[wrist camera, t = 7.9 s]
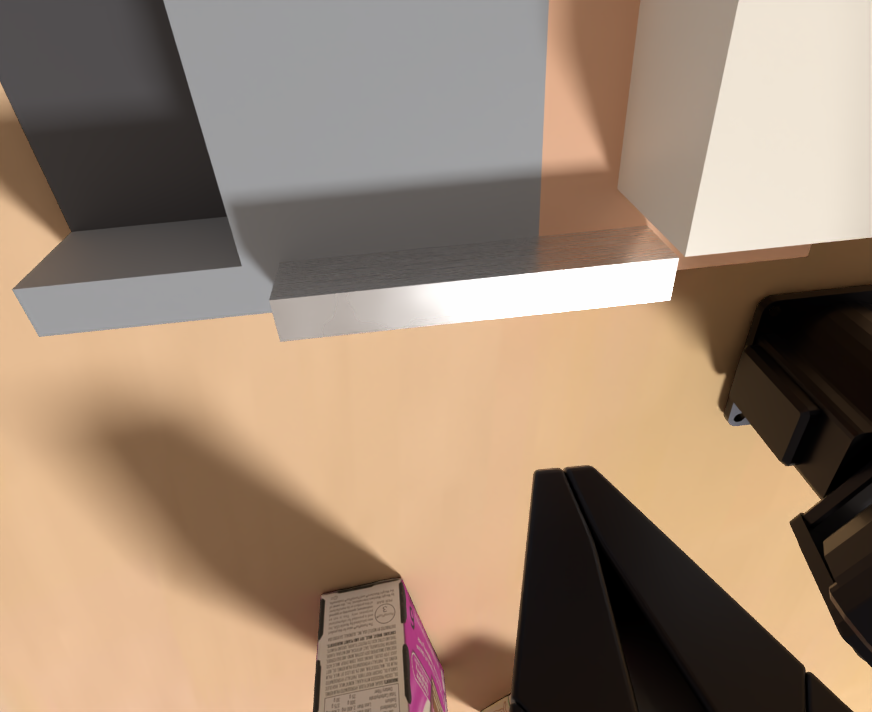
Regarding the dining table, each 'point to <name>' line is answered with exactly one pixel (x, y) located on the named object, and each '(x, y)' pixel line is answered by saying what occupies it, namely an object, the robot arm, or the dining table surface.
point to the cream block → (751, 122)
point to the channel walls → (471, 282)
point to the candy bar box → (375, 653)
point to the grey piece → (308, 140)
